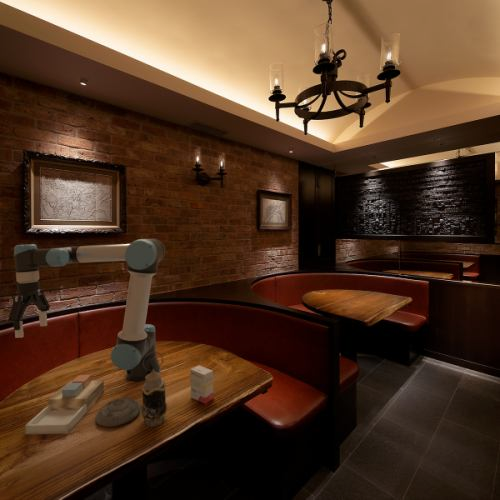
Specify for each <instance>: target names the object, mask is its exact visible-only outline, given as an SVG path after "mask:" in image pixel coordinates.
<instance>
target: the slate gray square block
mask: <svg viewBox="0 0 500 500" xmlns="http://www.w3.org/2000/svg"><path fill="white" fill-rule="evenodd" d="M82 391H83V383H69V384H68V385H67V386H66V387H65V388H64V389H62V398H72V397H77V396H78V395H79V394H80V393H81V392H82Z"/></svg>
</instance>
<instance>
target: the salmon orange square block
mask: <svg viewBox="0 0 500 500" xmlns="http://www.w3.org/2000/svg"><path fill="white" fill-rule="evenodd" d="M71 381H72V383H83V389H85V388H86V387H87V386H88V385H89V384H90V383H91V381H92V374H79V375H77V376H76V377H75V378H74V379H72V380H71Z"/></svg>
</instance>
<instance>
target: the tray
mask: <svg viewBox="0 0 500 500" xmlns="http://www.w3.org/2000/svg"><path fill="white" fill-rule="evenodd" d="M87 412H88V411H87V404H84V405H83V406H82V407H81V408H80V409H79V410H51V405H49V404H48V405H47V406H45V407H44V408H43V409H42V410H41V411H40V412H38V414H36V415H35V416H34V417H33V418H32V419H30V420H29V421H28V422H27V423H26V424H25V425H24V432H25V435H52V434H53V435H55V434H56V435H58V434H59V435H61V434H63V435H65V434H69V433H70V432H71V431H72V430H73V428H74V427H75V426H76V425H77V424H78V423H79V421H80V420H81V419H82V418H83V417H84V416H85V415H86V413H87Z"/></svg>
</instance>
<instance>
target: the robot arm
mask: <svg viewBox="0 0 500 500" xmlns="http://www.w3.org/2000/svg"><path fill="white" fill-rule="evenodd" d="M165 255H166V247H165V245H164V244H163V242H162V241H160V240H159V239H157V238H140V239H136V240H134V241H132V242H130V243H126V244H124V243H121V244H101V245H99V244H97V245H83V246H82V245H81V246H76V245H74V246H72V245H71V246H65V247H55V248H54V247H52V248H38V246H37V244H35V243H34V244H33V243H31V244H17V245H15V246H14V248H13V258H14V265H15V278H16V279H15V280H16V282H17V283H16V289H17V290H16V291H17V293H19V296H18V295H17V296H15V295H14V296H13V297H12V298H13V299H12V305H11V309H10V313H9V316H8V318H7V319H8V320H7V321H8V323H12V324H13V330H14V336H15V339H18V338H19V339H20V338H24V337H25V336H24V335H25V334H24V326H23V325H24V324H23V322H24V321H23V320H22V318H23V316H24V314H25V312H26V310H27V308H28V307H29V306H30V305H31V304H33V305H34V306H36V308H37V309H38V310H39V311H38V319H39V327H47V326H48V314H47V313H48V312H49V311H50V308H51V305H50V303H49V301H48V299H47V297H46V295H45V291H44V289H41V286H40V281H39V280H40V270H39V268H43V267H44V268H45V267H46V268H47V267H49V268H58V267H65V266H66V265H68V264H69V265H70V264H80V263H81V264H82V263H100V262H102V263H103V262H121V261H122V262H126V263H127V268H126V271H127V272H128V273H129V274H130V276H129V282H128V288H127V289H128V290H127V297H126V303H125V304H126V305H125V308H124V309H125V312H124V316H123V323H122V330H120V331H119V332H118V333H117V337H116V338H117V339H116V344H115V346H114V347H113V348H112V350H111V351H110V361H111V363H112V364H113V365H114V366H115V367H116V368H118V369H119V370H122V371H125V377H126V379H127V380H128V381H133V382H143V381H146V379H145V377H146V376H147V375H148V374H150V373H151V372H152V371H148V370H153V369H154V371H155V372H157V373H160V372H161V366H160V365H161V364H160V362H159V360H158V357H157V353H151V352H157V350H156V327H155V325H153V324H149V323H148V324H147V323H146V320H147V316H148V315H147V314H148V307H149V302H150V296H151V295H150V294H151V288H152V287H151V286H152V280H153V277H154V275H157V273H158V267H159V264H160V262H162V261H163V260H164V258H165ZM149 353H150V354H149ZM147 354H149V355H147ZM146 355H147V356H146ZM145 356H146V358H145ZM144 358H145V359H144ZM143 360H144V366H143ZM159 366H160V367H159ZM144 367H145V368H146V369H148V370H146V369H145V368H144ZM158 367H159V368H158ZM157 368H158V369H157ZM155 369H157V370H155Z"/></svg>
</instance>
